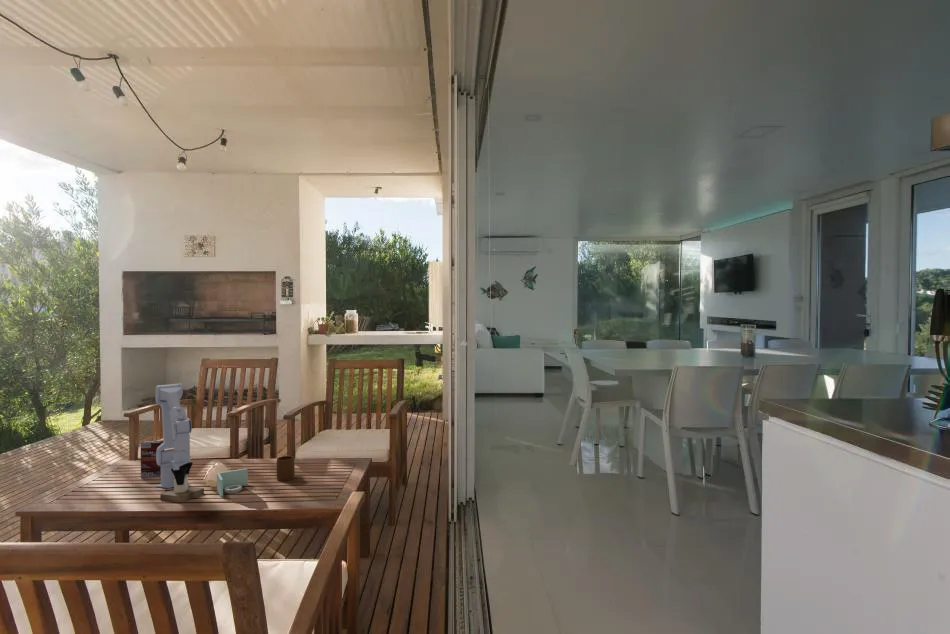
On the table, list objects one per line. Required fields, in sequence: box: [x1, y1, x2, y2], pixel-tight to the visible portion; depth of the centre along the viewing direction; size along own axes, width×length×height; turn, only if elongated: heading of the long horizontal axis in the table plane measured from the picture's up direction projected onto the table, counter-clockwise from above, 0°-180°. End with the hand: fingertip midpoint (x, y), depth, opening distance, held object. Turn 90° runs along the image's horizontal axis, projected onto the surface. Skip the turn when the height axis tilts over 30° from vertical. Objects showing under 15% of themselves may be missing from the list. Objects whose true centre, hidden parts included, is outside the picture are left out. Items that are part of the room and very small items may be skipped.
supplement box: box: [140, 439, 165, 478], centre depth 245 cm, size 9×5×16 cm, turn 100°
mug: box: [276, 454, 296, 482], centre depth 238 cm, size 12×8×9 cm, turn 3°
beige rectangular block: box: [173, 473, 190, 493], centre depth 214 cm, size 4×4×6 cm
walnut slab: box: [159, 485, 205, 503], centre depth 214 cm, size 11×11×3 cm
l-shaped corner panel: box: [216, 467, 249, 498], centre depth 221 cm, size 12×12×8 cm
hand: (182, 483), depth 214 cm, fingers open, 4 cm apart
